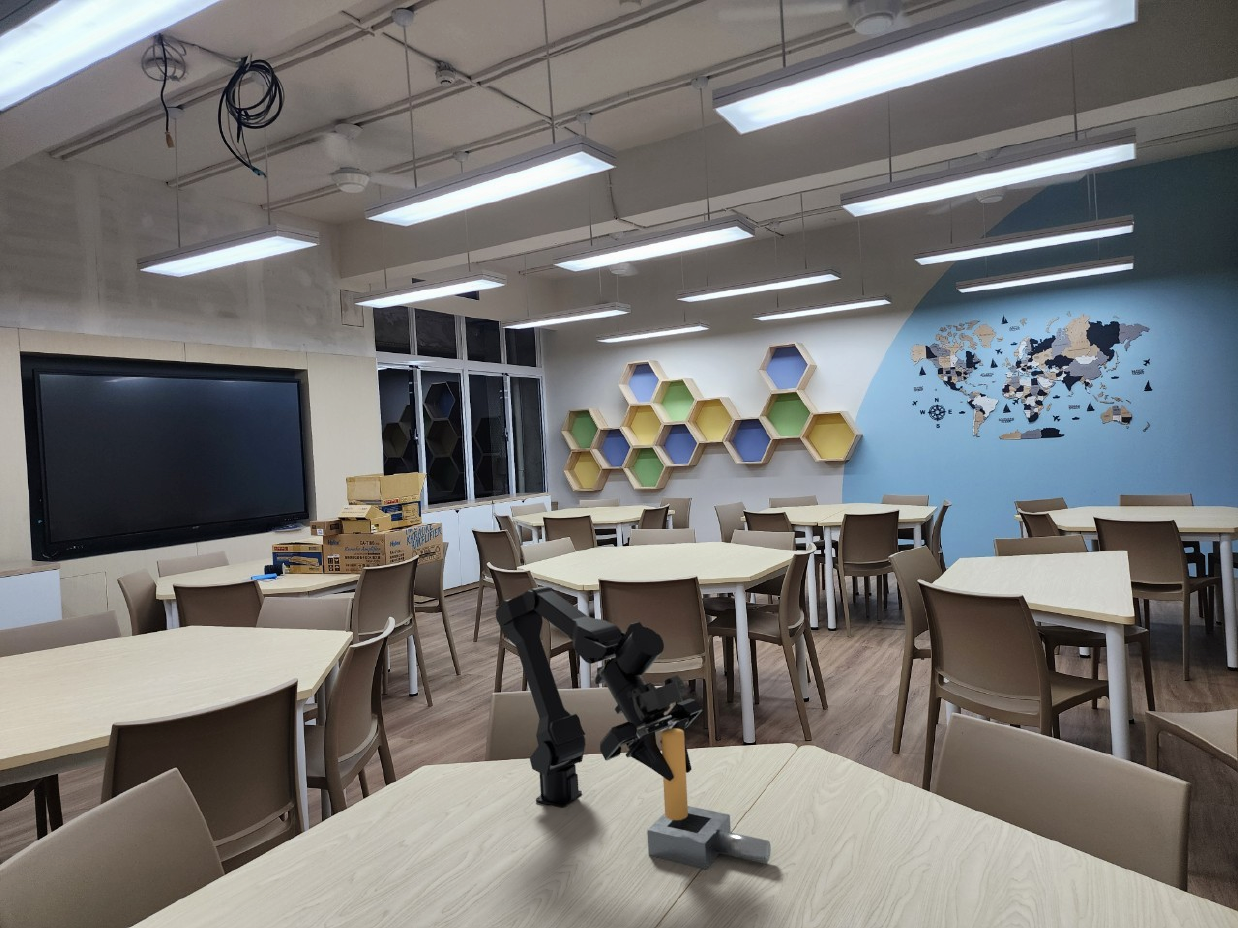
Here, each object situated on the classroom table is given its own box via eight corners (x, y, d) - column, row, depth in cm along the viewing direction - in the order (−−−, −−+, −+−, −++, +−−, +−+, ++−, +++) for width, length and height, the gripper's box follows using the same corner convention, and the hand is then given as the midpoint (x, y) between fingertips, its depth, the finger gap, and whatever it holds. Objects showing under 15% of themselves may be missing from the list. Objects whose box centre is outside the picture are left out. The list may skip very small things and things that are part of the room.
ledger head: (648, 854, 121) (647, 829, 121) (676, 826, 129) (674, 803, 129) (756, 881, 111) (755, 854, 111) (778, 849, 120) (777, 824, 120)
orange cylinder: (663, 818, 118) (658, 736, 118) (667, 808, 121) (663, 727, 121) (685, 820, 117) (681, 737, 117) (689, 809, 120) (685, 728, 120)
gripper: (608, 676, 116) (662, 768, 108) (691, 650, 128) (746, 731, 120) (578, 715, 122) (628, 805, 114) (660, 687, 134) (710, 766, 126)
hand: (680, 775), depth 118 cm, fingers closed on orange cylinder, 4 cm apart
